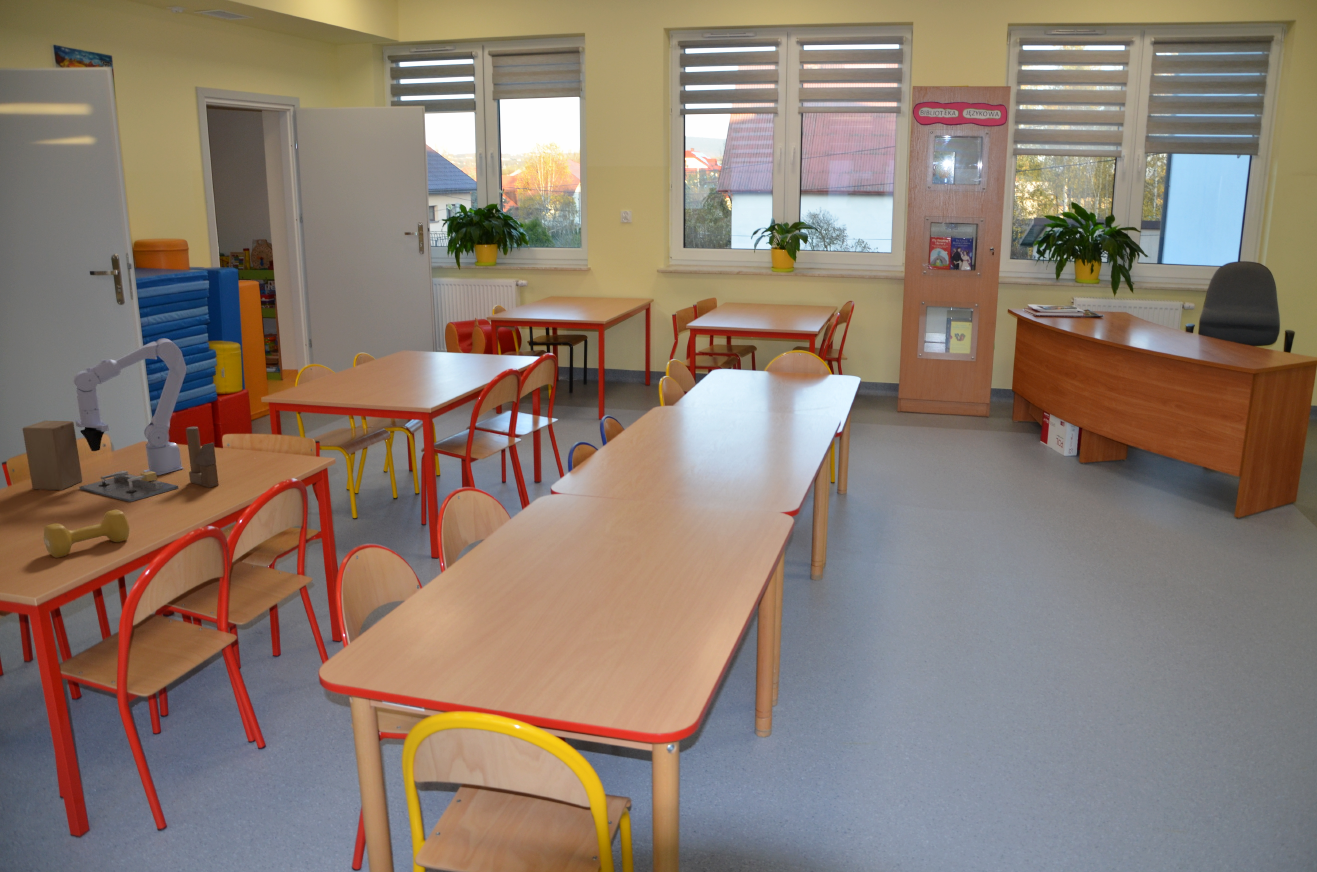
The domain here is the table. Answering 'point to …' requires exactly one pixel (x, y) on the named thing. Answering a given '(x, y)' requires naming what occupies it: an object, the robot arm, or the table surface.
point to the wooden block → (52, 455)
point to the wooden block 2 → (201, 460)
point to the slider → (143, 478)
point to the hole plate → (127, 487)
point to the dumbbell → (85, 533)
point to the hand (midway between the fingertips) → (95, 450)
